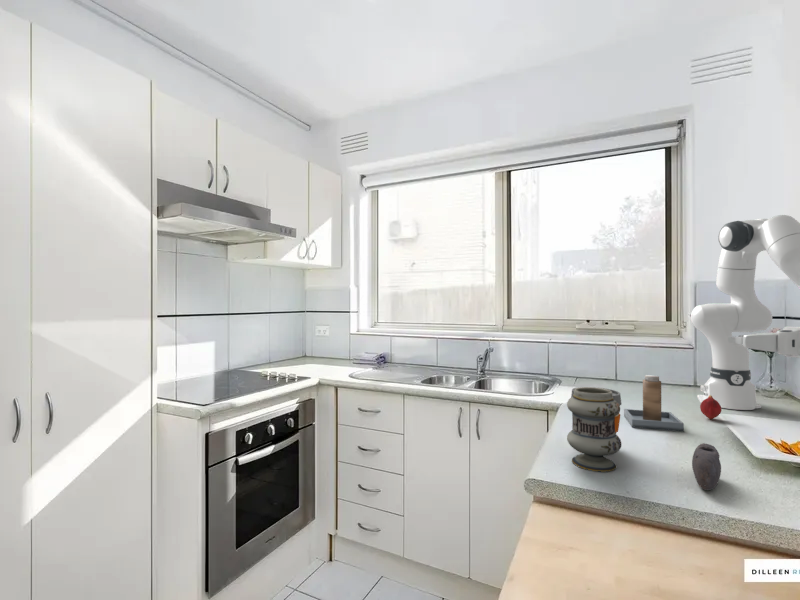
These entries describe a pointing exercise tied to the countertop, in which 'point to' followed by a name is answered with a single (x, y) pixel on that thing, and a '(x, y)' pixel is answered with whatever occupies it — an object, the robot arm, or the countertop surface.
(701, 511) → the countertop surface
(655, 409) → the pepper mill
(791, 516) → the countertop surface
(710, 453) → the perforated stone tool
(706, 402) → the onion
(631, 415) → the tray
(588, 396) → the apothecary jar
